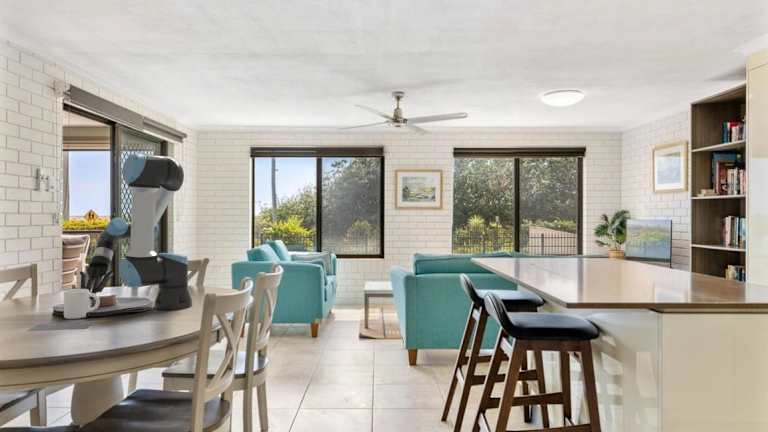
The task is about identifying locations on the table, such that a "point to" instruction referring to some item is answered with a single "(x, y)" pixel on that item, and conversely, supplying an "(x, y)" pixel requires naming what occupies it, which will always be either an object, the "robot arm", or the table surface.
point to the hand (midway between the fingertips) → (85, 305)
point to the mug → (78, 303)
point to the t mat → (63, 325)
